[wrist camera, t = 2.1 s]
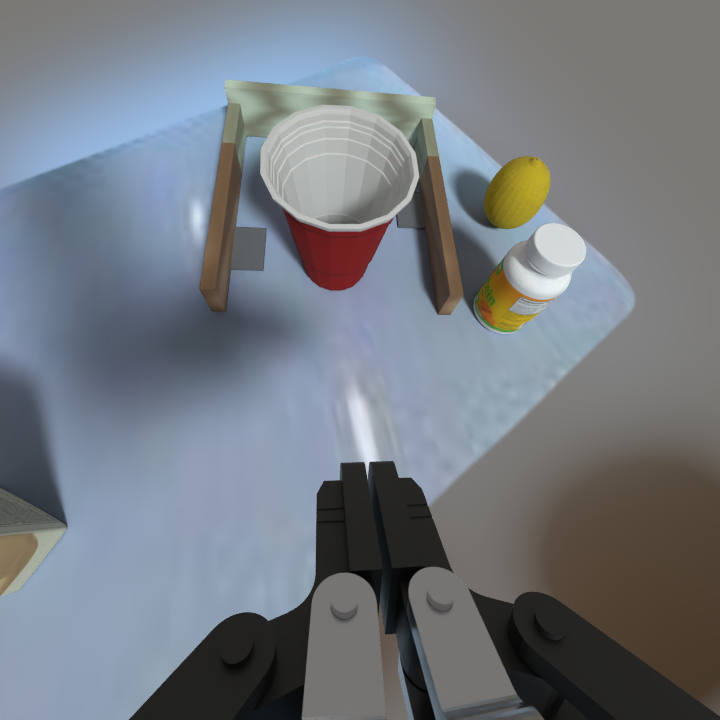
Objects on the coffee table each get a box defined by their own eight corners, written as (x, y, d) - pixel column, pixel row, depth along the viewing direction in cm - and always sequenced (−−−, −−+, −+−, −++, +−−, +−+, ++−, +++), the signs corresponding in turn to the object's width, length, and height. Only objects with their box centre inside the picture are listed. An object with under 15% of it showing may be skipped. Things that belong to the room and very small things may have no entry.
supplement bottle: (470, 284, 35) (521, 210, 26) (522, 291, 36) (589, 220, 27) (472, 331, 33) (528, 268, 24) (527, 339, 34) (601, 279, 25)
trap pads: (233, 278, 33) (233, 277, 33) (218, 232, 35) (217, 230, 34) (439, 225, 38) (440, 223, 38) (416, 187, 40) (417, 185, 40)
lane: (211, 311, 31) (193, 277, 27) (236, 127, 40) (225, 79, 36) (450, 314, 34) (470, 284, 29) (422, 141, 43) (434, 97, 38)
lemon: (498, 199, 40) (537, 131, 33) (530, 232, 39) (579, 169, 32) (462, 216, 39) (495, 149, 31) (495, 252, 37) (537, 190, 30)
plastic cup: (267, 307, 32) (239, 203, 21) (290, 217, 36) (276, 92, 25) (384, 325, 33) (416, 233, 22) (393, 235, 37) (424, 119, 26)
